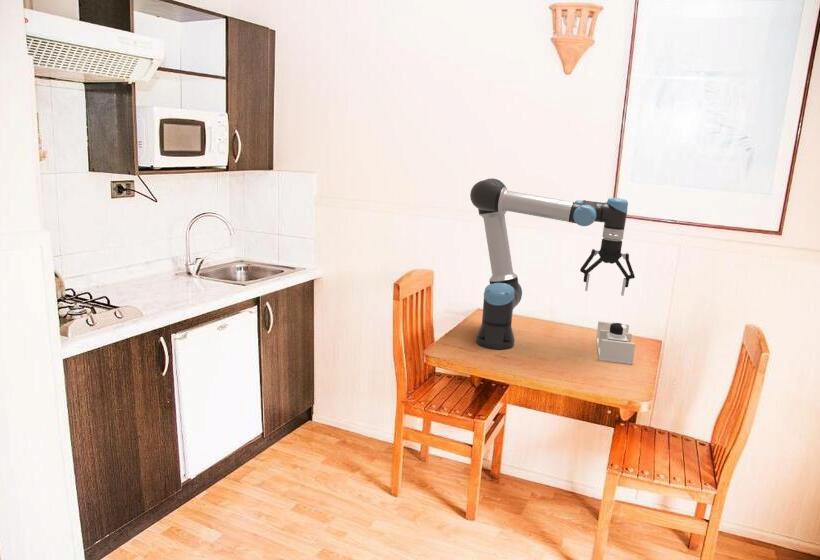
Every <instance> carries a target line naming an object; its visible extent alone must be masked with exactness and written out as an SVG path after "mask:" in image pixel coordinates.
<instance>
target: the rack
mask: <svg viewBox="0 0 820 560" xmlns="http://www.w3.org/2000/svg"><path fill="white" fill-rule="evenodd" d="M612 323H613V322H611V321H610V322H609V321H602V320H601V321H600V320H598V323H597V329H596V338H595V339H596V340H595V341H596V346H597V347H596V348H597V354H598V360H599V361H603V362H613V363H618V364H619V363H621V364H626V365H627V364H628V365H633V362H634V356H635V349H636V348H635V347H636V342H632V338H633V337H632V336H633V333H632V332H629V331H630V330H629V328H630V324H626V323H623V324H624V325H626V327H627V330H626V337H627V340H628V342H622V341H613V340H606V336H607V333H609V332H610V325H611V324H612Z"/></svg>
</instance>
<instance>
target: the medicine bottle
mask: <svg viewBox="0 0 820 560" xmlns="http://www.w3.org/2000/svg"><path fill="white" fill-rule="evenodd" d="M611 323H612V324H611V325H610V332H609V333H607V336H606V340H613V341H622V342H628V340H627V337H626V330H627V327H626V325H624V324H625V323H621V322H611Z"/></svg>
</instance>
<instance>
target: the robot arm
mask: <svg viewBox="0 0 820 560" xmlns="http://www.w3.org/2000/svg"><path fill="white" fill-rule="evenodd" d="M507 188H508V187H507V185H506V184H505V183H504V182H503V181H501V179H497V178H486V179H483V180H480V181H478V182H476V183H475V184H474V185H473V186H472V188H471V189H470V194H469V196H470V201H471V203H472V205H473V206H474V207H475V208H477V209H478V214H479V216H480V217H482V219H483V223H484V230H485V238H486V243H487V250H488V256H489V257H488V258H489V263H490V269H491V277H489V281H488V282H489V284H488V285H486V287H485V288H484V292H483V305H482V306H483V307H482V316H481V317H482V320H481V324H480V327H479V329H478V332H477V334H476V337H475V342H476V344H477V345H479V346H480V347H484V348H488V349H492V350H507V349H508V350H509V349H511V348H513V347H514V346H515V335H514V331H513V328H512V321H513V311H514V309H515V308H516V307H517V306H518V305H519V303H520V302H521V300H522V297H523V289H522V286H521V284H520V283H519V278H518V275H517V274H516V273H515V272H514V271H513V270H514V269H513V264H512V263H513V262H512V256H511V250H510V244H509V236H508V230H507V224H506V223H507V222H506V215H505V214H506V213H507V212H512V213H517V214H522V215H528V216H533V217H539V218H544V219H550V220H555V221H561V222H567V223H571V224H576V225H578V226H581V227H588V226H591V225H593V224H594V223H596V222H599V223H603V224H604V225H603V229H602V238H601V242H600V243H601V244H600V249H599V250H596V249H595V248H592V249H591V251H590V252H591V253H590V255H589V256H588V258H587V259H586V260H585V262H584V263H583V264H582V266H581V267H580V269H579V271H580V272H581V273H583V283H585V292H588V288H589V281H590V272H592V271H594V269H595V268H596V267H597V266H599V265H600V264H602V262H603V263H604V264H612V265H613V264H616V266H617V267H618V268H619V270H620V272H621V273H622V275H624V277H623V278H622V279H623V280H622V286H621V287H622V288H621V293H620V294H621V296H622V297H624V296H625V295H624V294H625V290H626V288H629V283H630V280H631V279H635V278H636V276H635V273H634V271H633V268H632V264H631V262H630V254H629V252H626V253H622V247H623V241H622V240H623V239H624V234H625V233H624V232H625V228H626V222H627V221H626V220H627V215H628V206H629V202H628V200H627V199H624V198H619V197H618V198H617V197H609V198H608V199H607V201H606V202H601V201H600V202H599V201H591V200H586V199H583V200H581V199H576V200H575V201H570V200H569V201H568V200H563V199H557V198H552V197H547V196H539V195H535V194H528V193H522V192H518V191H512V190H508V189H507ZM597 255H598V256H599V258H598V259H597V260H596V261H594V262H593V263H592V264H591V265H589V264H590V262H592V261H593V259H594V257H596V256H597ZM621 258H622V259H623V260H625V263H626V266H627V268H628V272H629V273H628V272H627V271H626V270H625V268H624V266H623V265H622V263H621V262H620V260H619V259H621ZM588 266H589V267H588Z"/></svg>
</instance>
